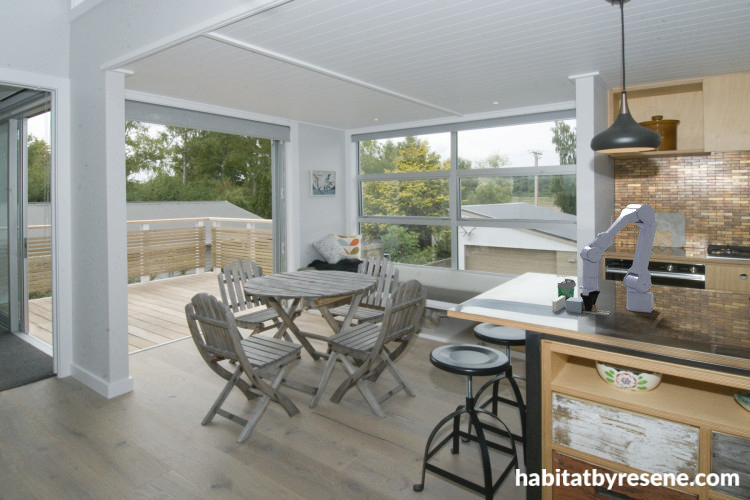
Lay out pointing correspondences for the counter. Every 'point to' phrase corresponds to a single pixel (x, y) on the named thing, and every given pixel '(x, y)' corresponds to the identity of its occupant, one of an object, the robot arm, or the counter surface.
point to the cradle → (598, 312)
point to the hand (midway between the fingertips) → (590, 309)
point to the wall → (558, 303)
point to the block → (574, 305)
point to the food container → (566, 288)
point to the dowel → (594, 308)
